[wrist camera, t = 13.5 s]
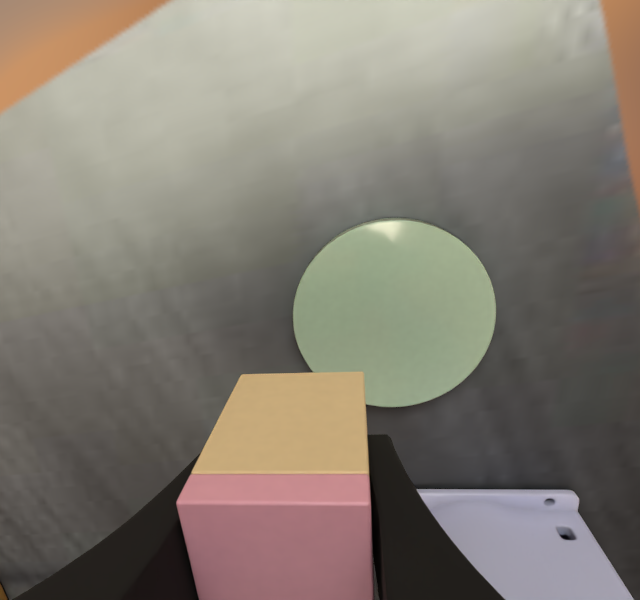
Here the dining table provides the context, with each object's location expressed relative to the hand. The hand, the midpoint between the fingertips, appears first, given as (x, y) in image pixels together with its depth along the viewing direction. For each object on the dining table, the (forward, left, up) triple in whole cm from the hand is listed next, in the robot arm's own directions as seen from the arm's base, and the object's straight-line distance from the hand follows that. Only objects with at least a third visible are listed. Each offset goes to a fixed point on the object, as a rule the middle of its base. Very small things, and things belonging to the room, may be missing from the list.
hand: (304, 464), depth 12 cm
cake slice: (0, 0, -2) cm, 2 cm away
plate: (-3, -1, -8) cm, 9 cm away
